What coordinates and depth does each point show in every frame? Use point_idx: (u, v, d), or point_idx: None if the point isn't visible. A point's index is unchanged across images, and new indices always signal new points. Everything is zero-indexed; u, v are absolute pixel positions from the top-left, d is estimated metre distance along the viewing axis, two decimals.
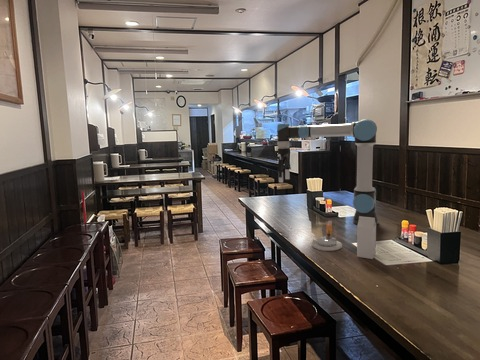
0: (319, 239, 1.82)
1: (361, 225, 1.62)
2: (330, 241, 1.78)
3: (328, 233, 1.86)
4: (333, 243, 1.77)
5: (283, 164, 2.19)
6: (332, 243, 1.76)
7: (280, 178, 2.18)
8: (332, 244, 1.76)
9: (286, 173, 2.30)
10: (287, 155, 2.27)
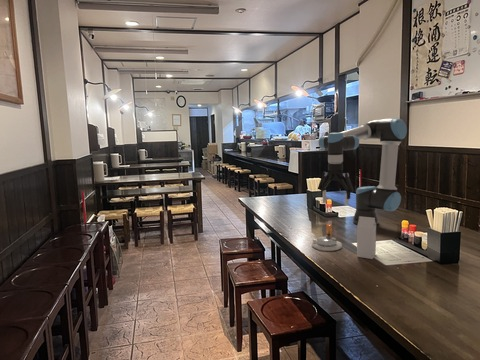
0: (319, 239, 1.82)
1: (361, 225, 1.62)
2: (330, 241, 1.78)
3: (328, 233, 1.86)
4: (333, 243, 1.77)
5: (326, 182, 1.83)
6: (332, 243, 1.76)
7: None
8: (332, 244, 1.76)
9: None
10: (345, 174, 1.76)
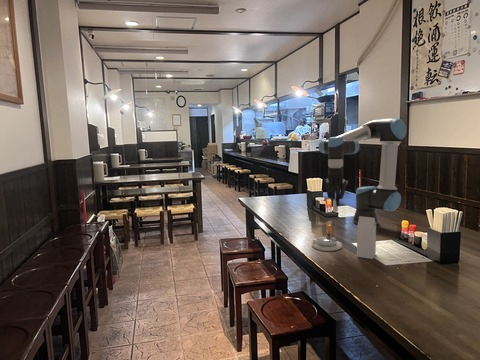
0: (319, 239, 1.82)
1: (361, 225, 1.62)
2: (330, 241, 1.78)
3: (328, 233, 1.86)
4: (333, 243, 1.77)
5: (331, 188, 1.81)
6: (332, 243, 1.76)
7: None
8: (332, 244, 1.76)
9: None
10: (344, 181, 1.77)
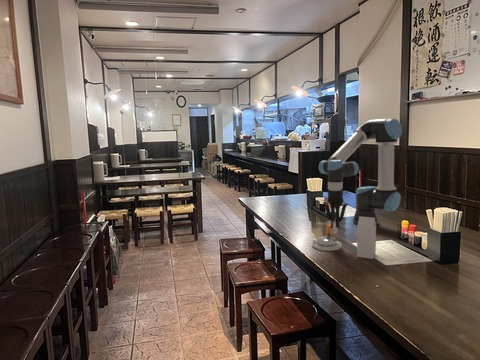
0: (319, 239, 1.82)
1: (361, 225, 1.62)
2: (330, 241, 1.78)
3: (328, 233, 1.86)
4: (333, 243, 1.77)
5: (331, 211, 1.83)
6: (332, 243, 1.76)
7: None
8: (332, 244, 1.76)
9: None
10: (344, 204, 1.79)
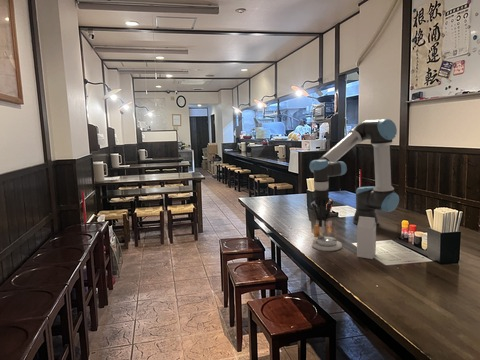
0: (323, 241, 1.78)
1: (361, 225, 1.62)
2: (333, 239, 1.80)
3: (318, 234, 1.85)
4: None
5: (320, 210, 1.84)
6: (336, 240, 1.80)
7: (321, 227, 1.87)
8: (336, 241, 1.80)
9: None
10: (331, 201, 1.86)
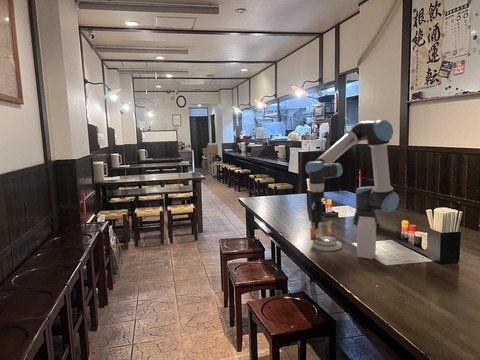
0: (329, 241, 1.77)
1: (361, 225, 1.62)
2: (330, 238, 1.83)
3: (315, 236, 1.81)
4: None
5: (318, 212, 1.82)
6: None
7: (316, 229, 1.85)
8: None
9: None
10: (321, 202, 1.88)
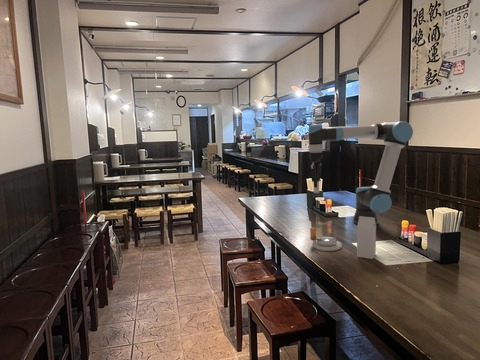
0: (329, 241, 1.77)
1: (361, 225, 1.62)
2: (330, 238, 1.83)
3: (315, 236, 1.81)
4: None
5: (317, 172, 1.97)
6: None
7: (315, 188, 1.99)
8: None
9: None
10: (320, 163, 2.02)
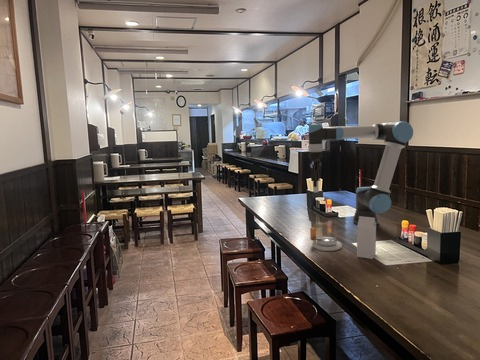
0: (329, 241, 1.77)
1: (361, 225, 1.62)
2: (330, 238, 1.83)
3: (315, 236, 1.81)
4: None
5: (316, 171, 1.97)
6: None
7: (315, 187, 2.00)
8: None
9: None
10: (320, 162, 2.02)
